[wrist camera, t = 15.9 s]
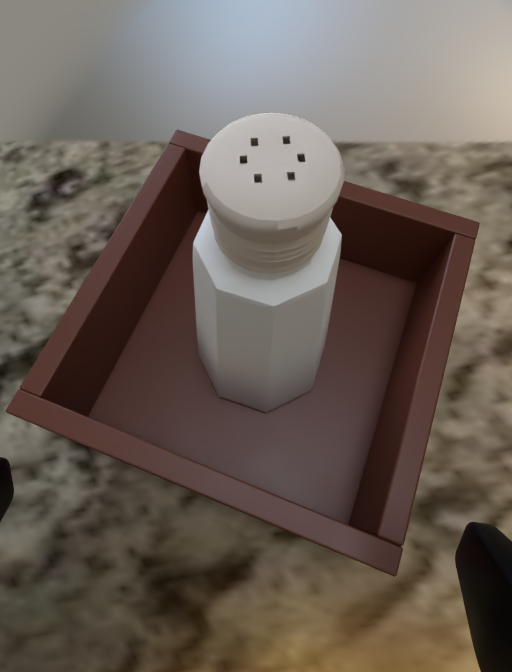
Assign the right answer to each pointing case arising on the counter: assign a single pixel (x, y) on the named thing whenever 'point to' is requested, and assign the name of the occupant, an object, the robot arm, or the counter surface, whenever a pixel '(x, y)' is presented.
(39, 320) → the counter surface
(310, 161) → the salt shaker
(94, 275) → the bin
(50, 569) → the counter surface
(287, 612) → the counter surface
